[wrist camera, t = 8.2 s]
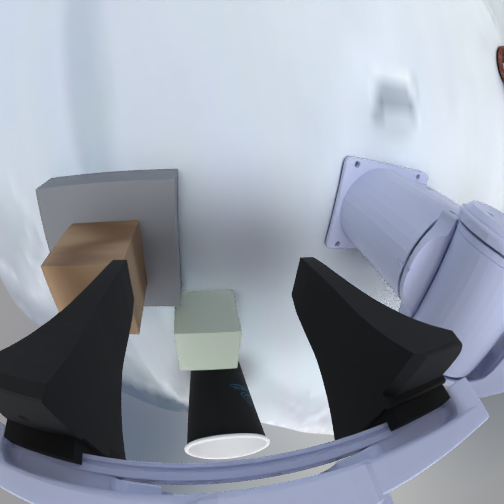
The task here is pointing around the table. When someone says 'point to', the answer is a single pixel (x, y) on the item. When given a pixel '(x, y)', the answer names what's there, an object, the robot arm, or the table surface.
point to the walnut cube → (96, 261)
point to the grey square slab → (123, 218)
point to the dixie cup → (222, 416)
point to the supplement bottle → (501, 61)
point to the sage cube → (207, 330)
